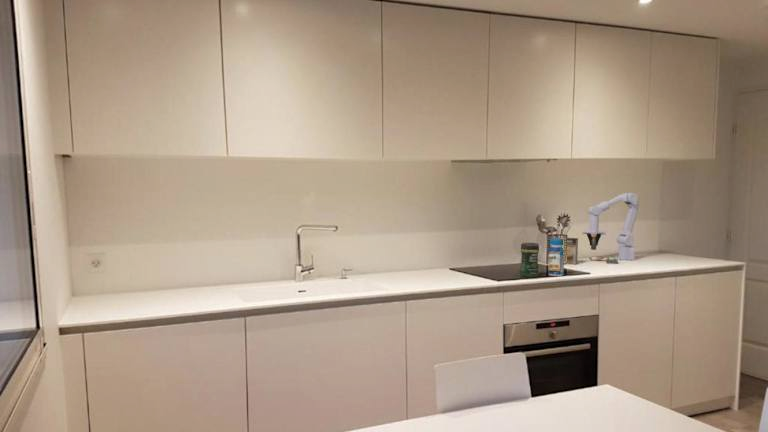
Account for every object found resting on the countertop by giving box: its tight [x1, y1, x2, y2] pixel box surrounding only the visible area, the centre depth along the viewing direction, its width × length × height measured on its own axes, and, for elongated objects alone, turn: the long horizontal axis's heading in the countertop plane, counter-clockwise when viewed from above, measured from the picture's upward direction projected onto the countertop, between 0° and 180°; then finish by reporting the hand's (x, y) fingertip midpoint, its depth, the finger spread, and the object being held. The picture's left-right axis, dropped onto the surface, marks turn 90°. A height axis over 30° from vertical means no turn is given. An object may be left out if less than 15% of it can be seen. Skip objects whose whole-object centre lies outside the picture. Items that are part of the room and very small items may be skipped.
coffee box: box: [566, 237, 579, 265], centre depth 330 cm, size 9×6×16 cm
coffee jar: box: [519, 242, 540, 278], centre depth 286 cm, size 10×8×19 cm
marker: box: [590, 234, 597, 251], centre depth 344 cm, size 3×3×10 cm
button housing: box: [605, 258, 619, 265], centre depth 331 cm, size 6×6×2 cm
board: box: [588, 256, 609, 262], centre depth 343 cm, size 12×10×1 cm
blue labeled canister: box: [547, 238, 565, 277], centre depth 289 cm, size 8×8×20 cm
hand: (593, 245), depth 344 cm, fingers closed on marker, 3 cm apart
